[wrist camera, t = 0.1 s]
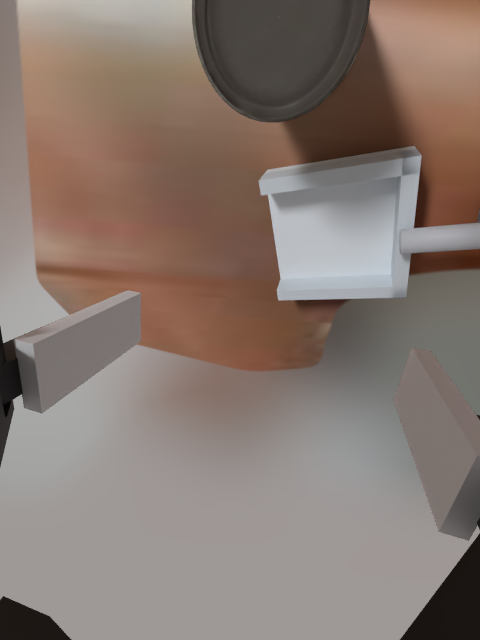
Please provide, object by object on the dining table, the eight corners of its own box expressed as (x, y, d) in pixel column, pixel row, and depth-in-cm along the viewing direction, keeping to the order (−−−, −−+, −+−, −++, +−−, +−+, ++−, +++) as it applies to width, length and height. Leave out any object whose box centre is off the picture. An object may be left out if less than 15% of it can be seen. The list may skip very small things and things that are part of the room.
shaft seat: (283, 282, 45) (274, 311, 40) (267, 169, 37) (253, 187, 32) (485, 274, 37) (506, 308, 32) (523, 127, 29) (561, 141, 24)
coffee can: (297, -89, 25) (255, -202, 14) (391, 12, 27) (416, -22, 16) (228, 54, 31) (164, 49, 21) (307, 127, 33) (286, 156, 23)
